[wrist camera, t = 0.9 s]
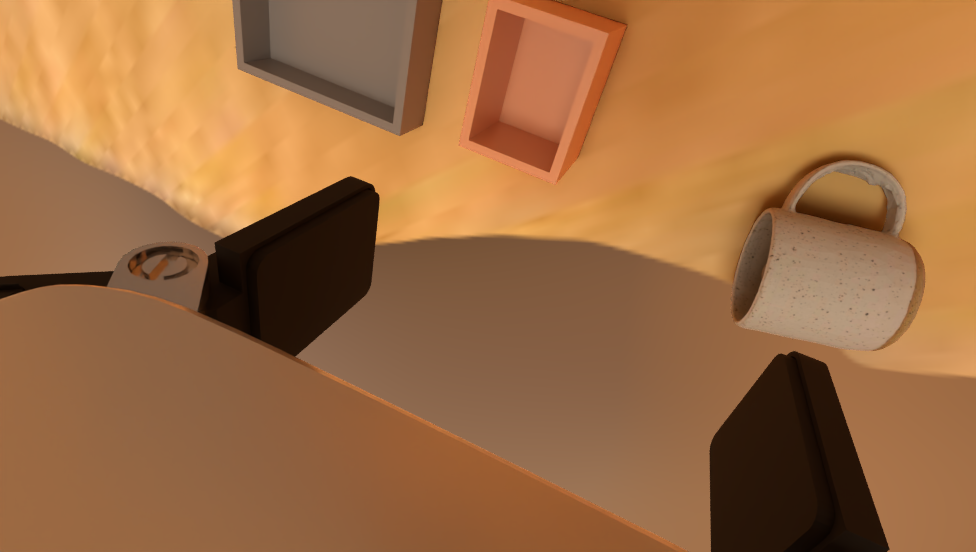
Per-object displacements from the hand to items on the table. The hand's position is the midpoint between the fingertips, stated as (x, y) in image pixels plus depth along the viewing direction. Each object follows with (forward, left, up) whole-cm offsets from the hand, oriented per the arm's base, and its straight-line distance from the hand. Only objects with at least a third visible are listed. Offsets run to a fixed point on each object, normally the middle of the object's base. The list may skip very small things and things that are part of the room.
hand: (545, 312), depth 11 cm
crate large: (+1, -24, -26) cm, 35 cm away
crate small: (+1, -7, -26) cm, 27 cm away
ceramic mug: (+5, +13, -26) cm, 29 cm away
